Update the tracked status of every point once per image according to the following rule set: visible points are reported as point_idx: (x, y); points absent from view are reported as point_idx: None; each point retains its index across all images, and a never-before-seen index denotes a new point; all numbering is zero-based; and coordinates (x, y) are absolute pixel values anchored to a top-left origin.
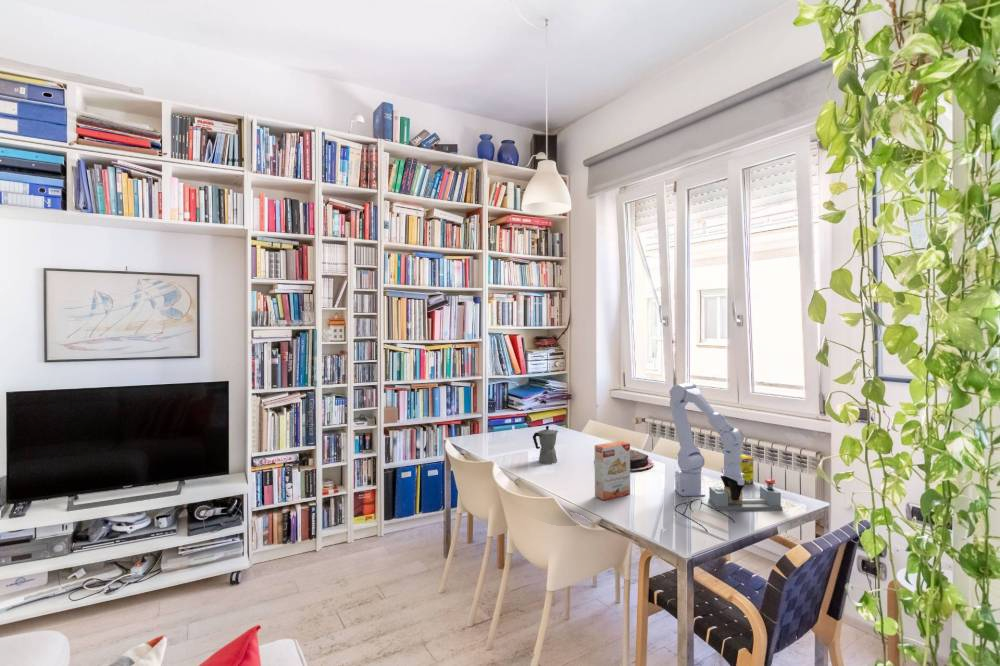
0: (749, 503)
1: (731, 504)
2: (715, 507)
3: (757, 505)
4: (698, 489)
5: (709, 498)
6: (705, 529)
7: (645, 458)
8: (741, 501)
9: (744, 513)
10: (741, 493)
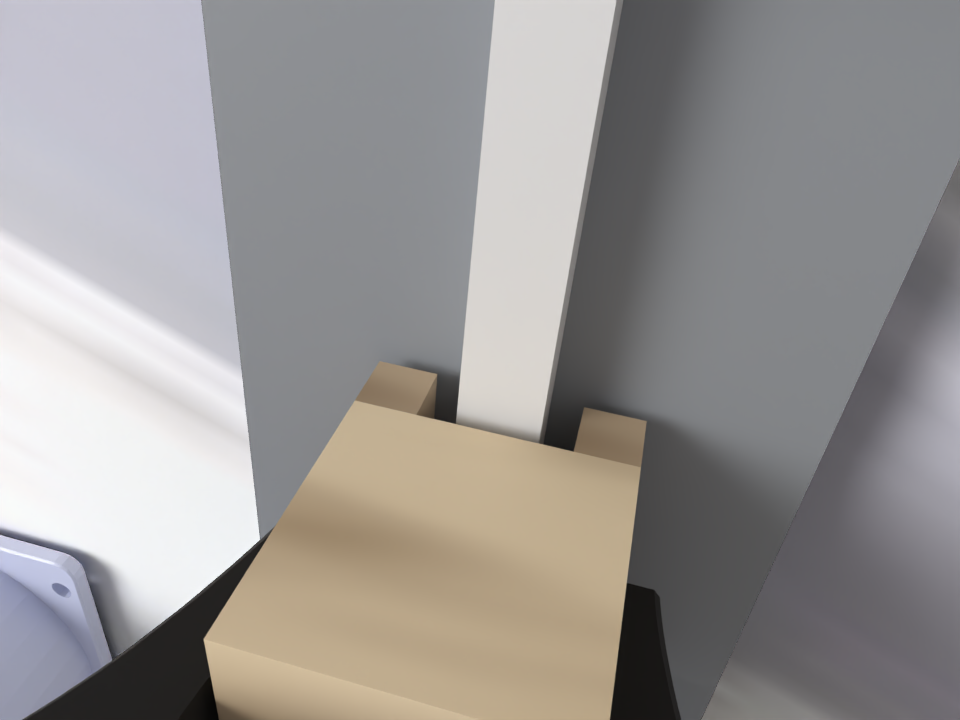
0: (622, 202)
1: None
2: None
3: (848, 71)
4: (14, 685)
5: None
6: None
7: None
8: (637, 479)
9: (952, 514)
10: (615, 668)
